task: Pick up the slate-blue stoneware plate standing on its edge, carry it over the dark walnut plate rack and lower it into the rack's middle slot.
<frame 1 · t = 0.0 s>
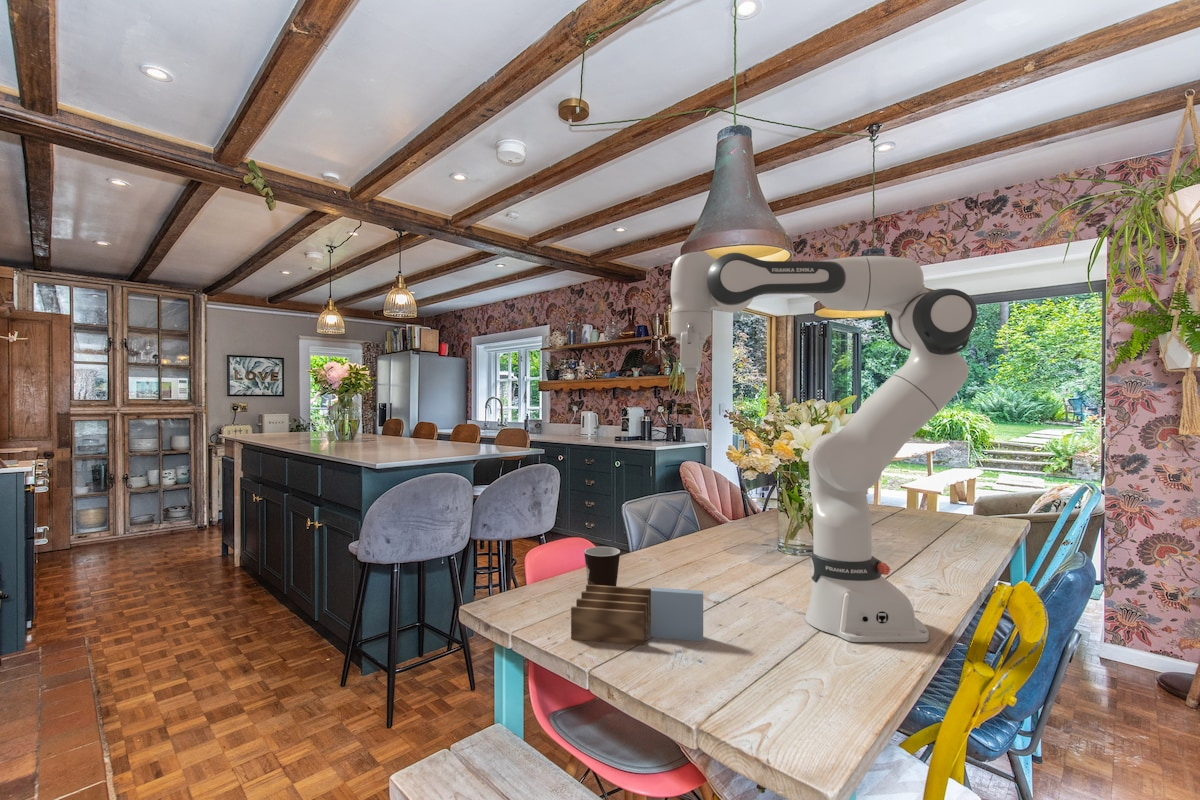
hand: (691, 391, 120), 48 cm above the table, fingers open, 8 cm apart
walnut rack: (613, 627, 112), on the table
blue plate: (677, 637, 108), on the table
coffee mug: (603, 591, 134), on the table
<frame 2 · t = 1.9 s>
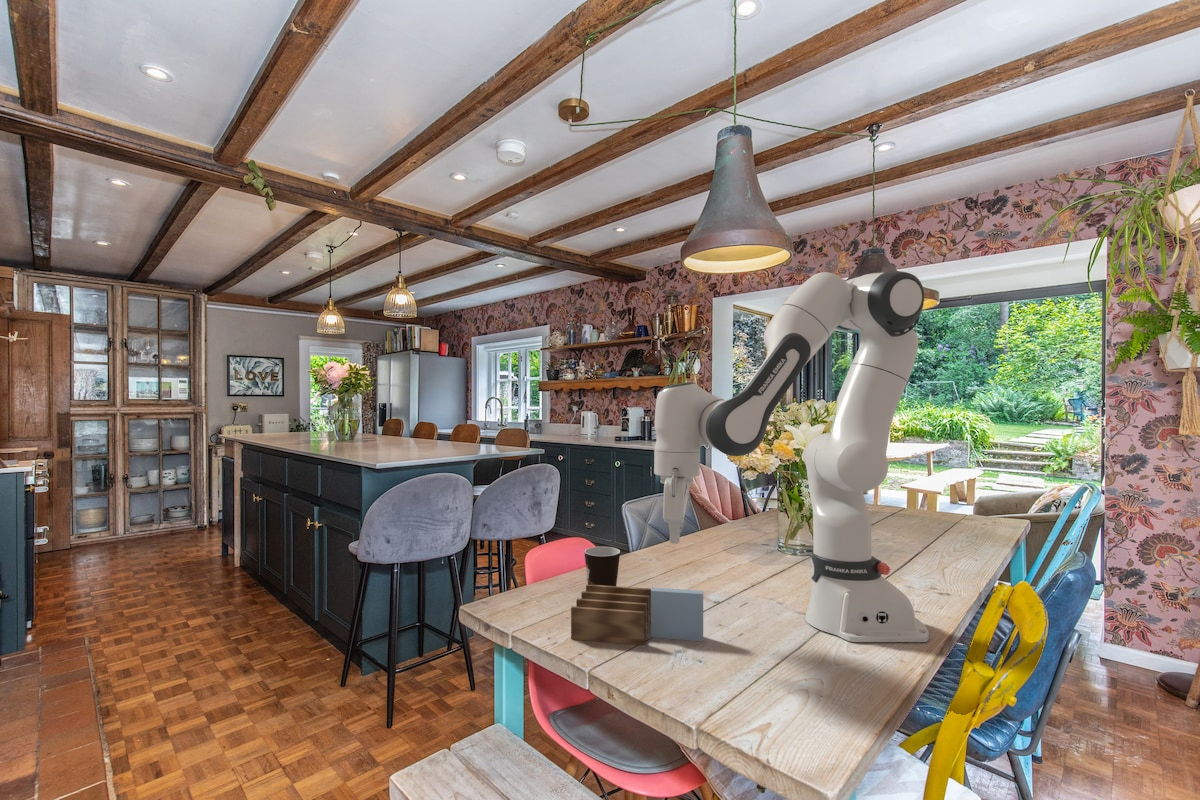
hand: (676, 536, 108), 19 cm above the table, fingers open, 8 cm apart
nothing on the table moved.
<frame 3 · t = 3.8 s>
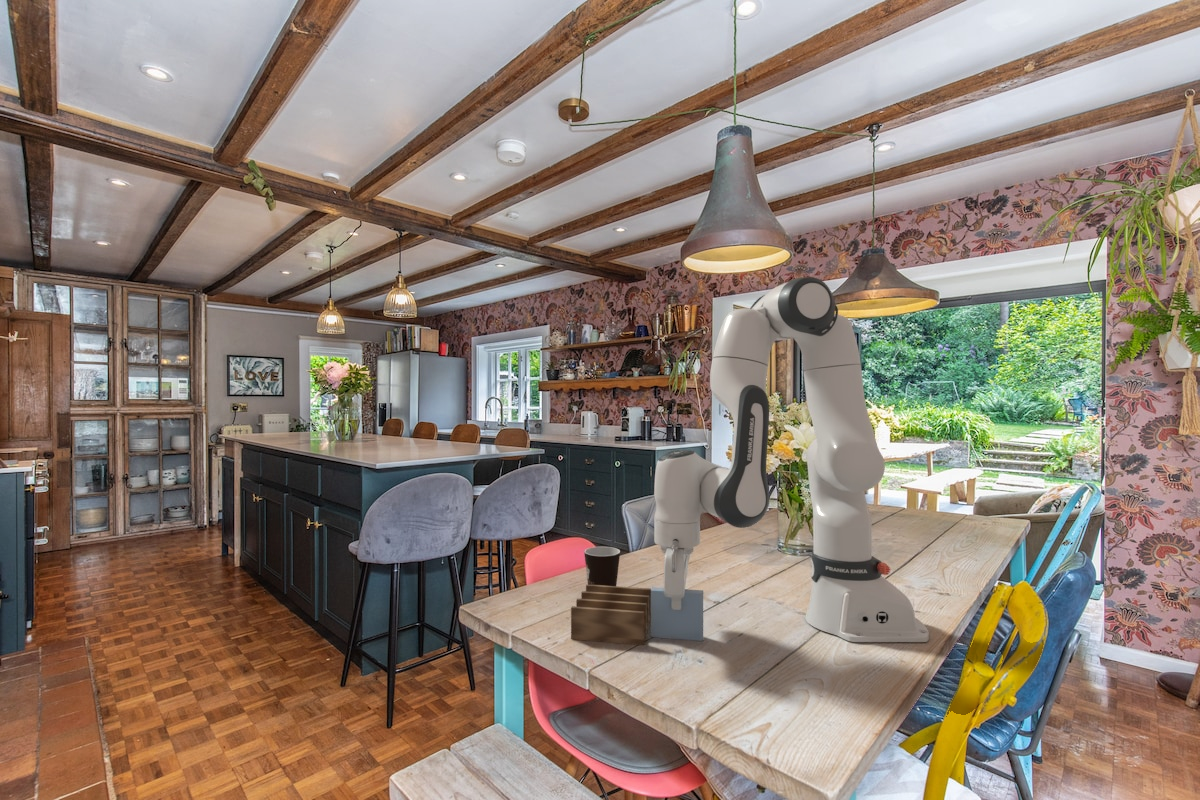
hand: (677, 605, 108), 6 cm above the table, fingers closed on blue plate, 2 cm apart
blue plate: (677, 636, 108), on the table, touching gripper
everything else where it was.
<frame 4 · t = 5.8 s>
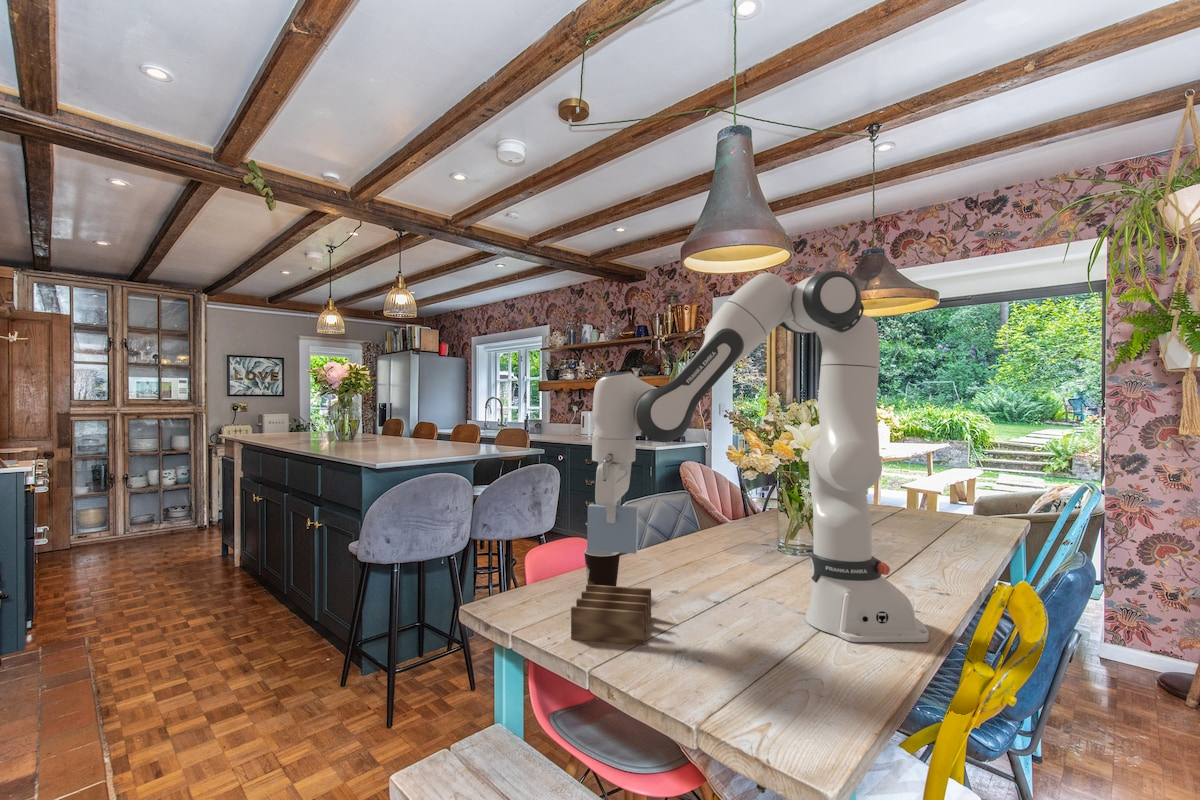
hand: (612, 520, 112), 22 cm above the table, fingers closed on blue plate
blue plate: (612, 550, 112), point 16 cm above the table, touching gripper
everything else where it was.
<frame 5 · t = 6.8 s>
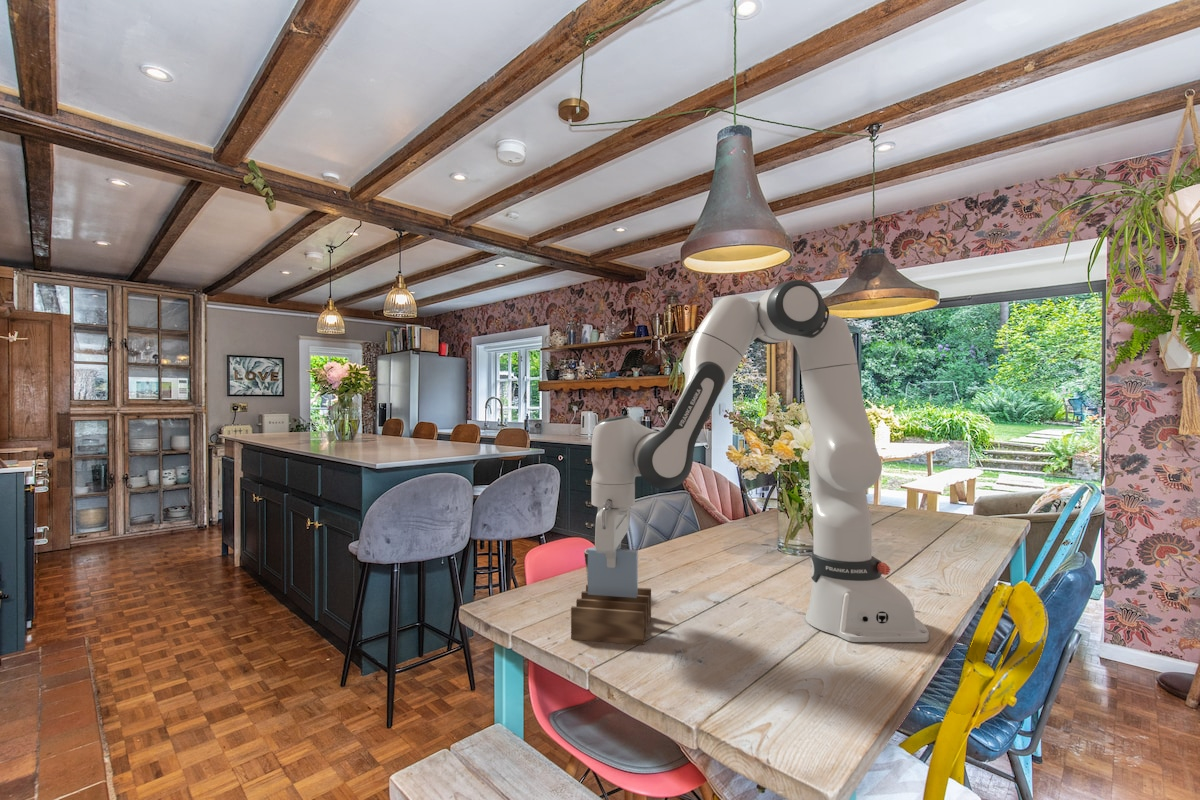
hand: (613, 564, 112), 13 cm above the table, fingers closed on blue plate
blue plate: (612, 594, 112), point 7 cm above the table, touching gripper
everything else where it was.
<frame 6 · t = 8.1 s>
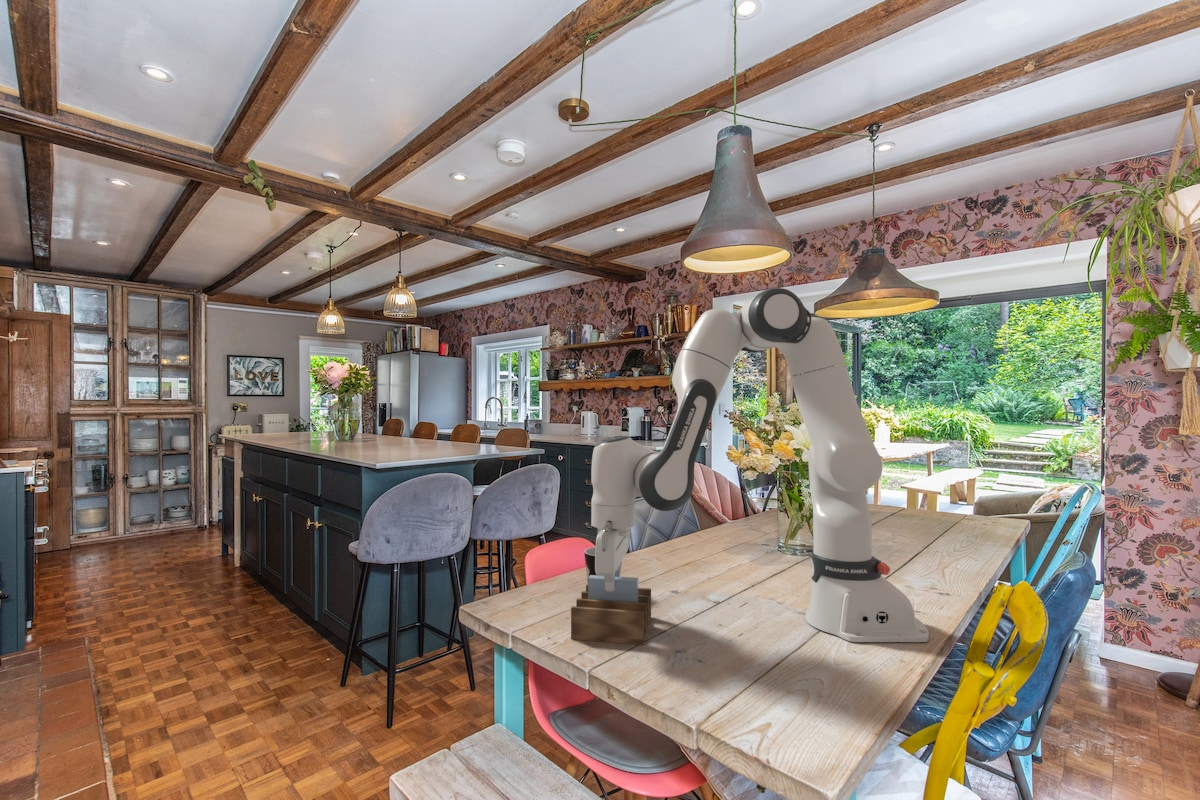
hand: (613, 584, 112), 9 cm above the table, fingers open, 5 cm apart
blue plate: (613, 622, 112), point 1 cm above the table, touching walnut rack
everything else where it was.
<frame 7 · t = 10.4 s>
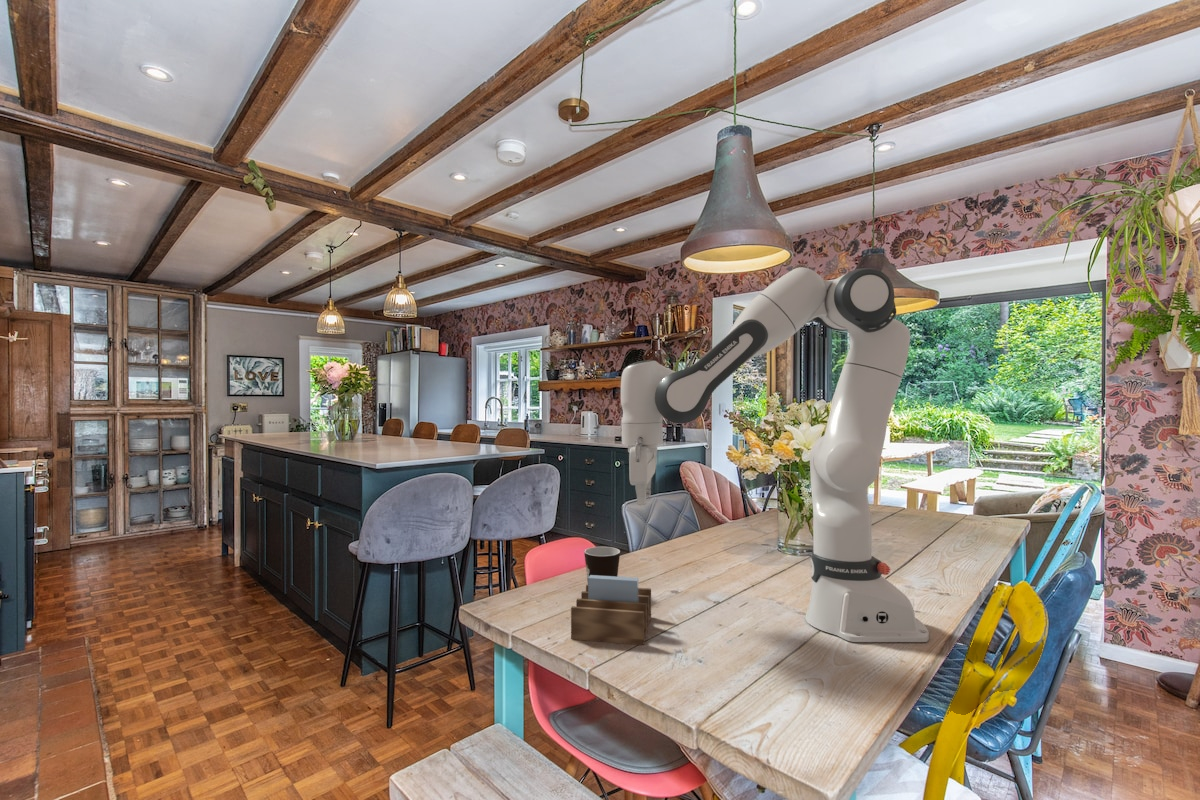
hand: (644, 500, 119), 24 cm above the table, fingers open, 8 cm apart
nothing on the table moved.
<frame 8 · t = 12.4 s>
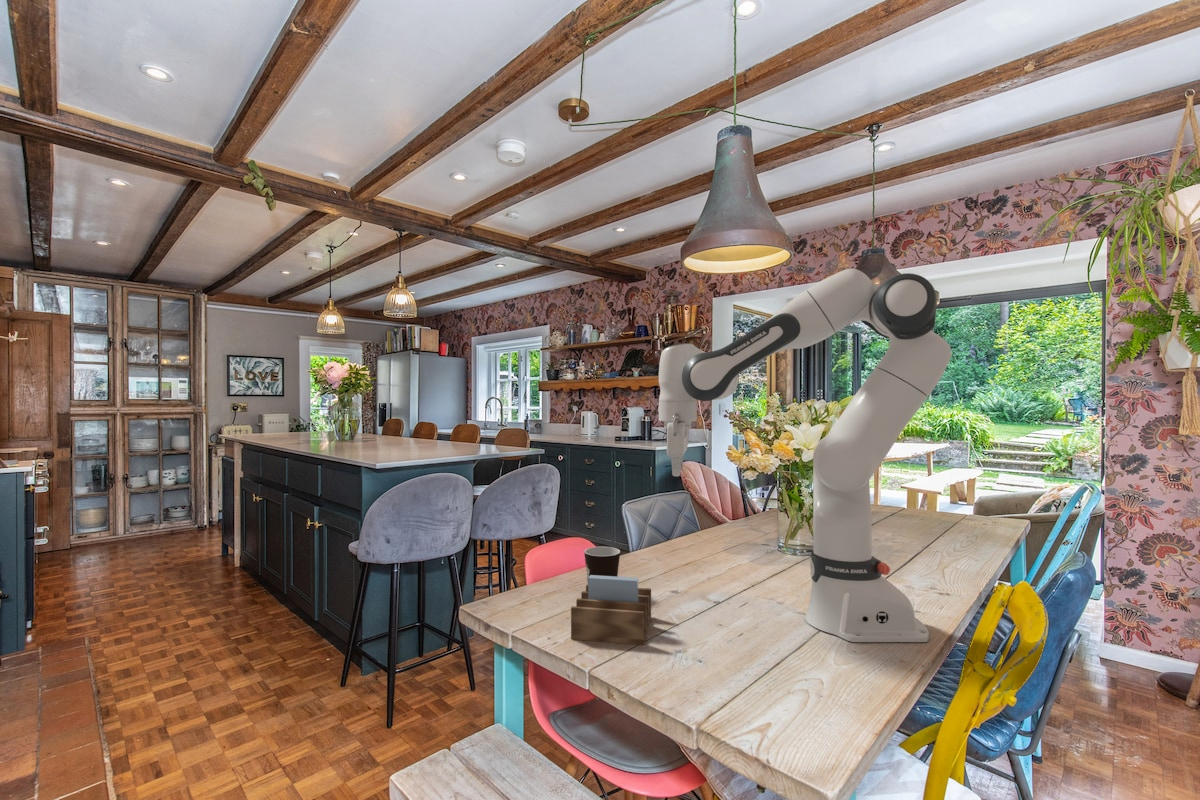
hand: (677, 473, 129), 29 cm above the table, fingers open, 8 cm apart
nothing on the table moved.
at the end: blue plate inside the target area on the walnut rack (0.1 cm from its centre), point 1.0 cm above the walnut rack's base; blue plate tilted 0°; the gripper is holding nothing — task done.
